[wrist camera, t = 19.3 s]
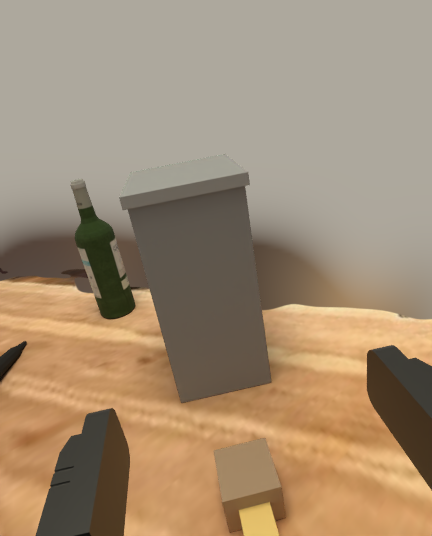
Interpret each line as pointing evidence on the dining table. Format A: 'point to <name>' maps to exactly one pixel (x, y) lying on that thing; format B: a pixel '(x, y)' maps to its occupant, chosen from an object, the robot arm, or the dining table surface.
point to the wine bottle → (101, 258)
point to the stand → (201, 272)
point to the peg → (250, 488)
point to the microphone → (10, 357)
